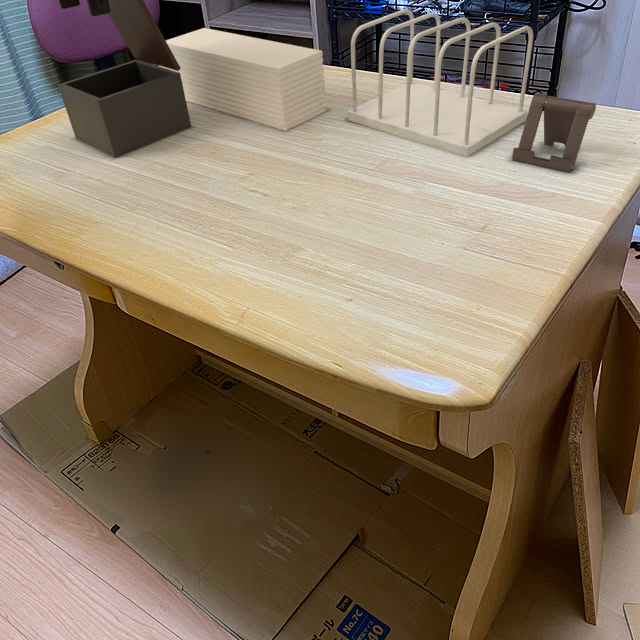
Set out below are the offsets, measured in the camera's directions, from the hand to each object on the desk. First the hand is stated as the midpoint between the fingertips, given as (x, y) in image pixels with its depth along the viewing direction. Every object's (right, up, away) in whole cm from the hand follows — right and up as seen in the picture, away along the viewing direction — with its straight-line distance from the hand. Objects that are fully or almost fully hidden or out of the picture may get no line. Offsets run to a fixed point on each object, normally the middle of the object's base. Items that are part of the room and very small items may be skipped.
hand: (85, 10), depth 98 cm
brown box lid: (+5, +1, +6) cm, 8 cm away
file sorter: (+57, -15, +9) cm, 59 cm away
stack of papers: (+23, -7, +22) cm, 33 cm away
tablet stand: (+71, -25, -5) cm, 75 cm away
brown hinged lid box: (+3, -15, +15) cm, 21 cm away
